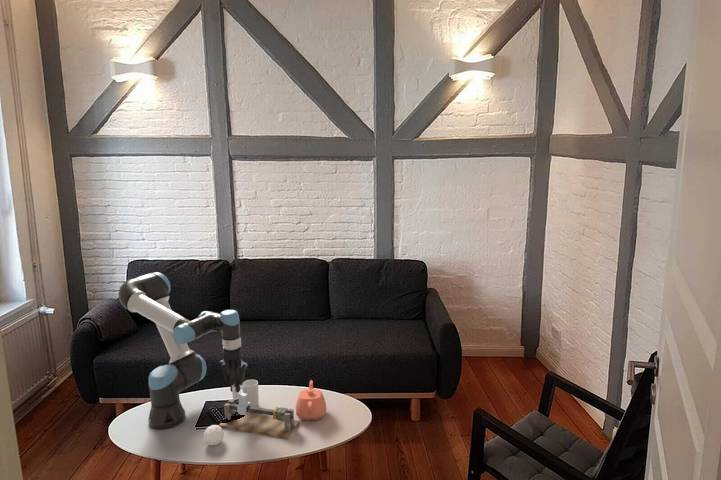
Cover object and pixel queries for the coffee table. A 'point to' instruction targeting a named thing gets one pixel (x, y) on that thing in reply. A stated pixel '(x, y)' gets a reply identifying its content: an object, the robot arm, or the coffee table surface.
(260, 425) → the din rail terminal board
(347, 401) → the coffee table surface
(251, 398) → the mug
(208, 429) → the geometric ball
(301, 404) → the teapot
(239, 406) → the white stepped block
